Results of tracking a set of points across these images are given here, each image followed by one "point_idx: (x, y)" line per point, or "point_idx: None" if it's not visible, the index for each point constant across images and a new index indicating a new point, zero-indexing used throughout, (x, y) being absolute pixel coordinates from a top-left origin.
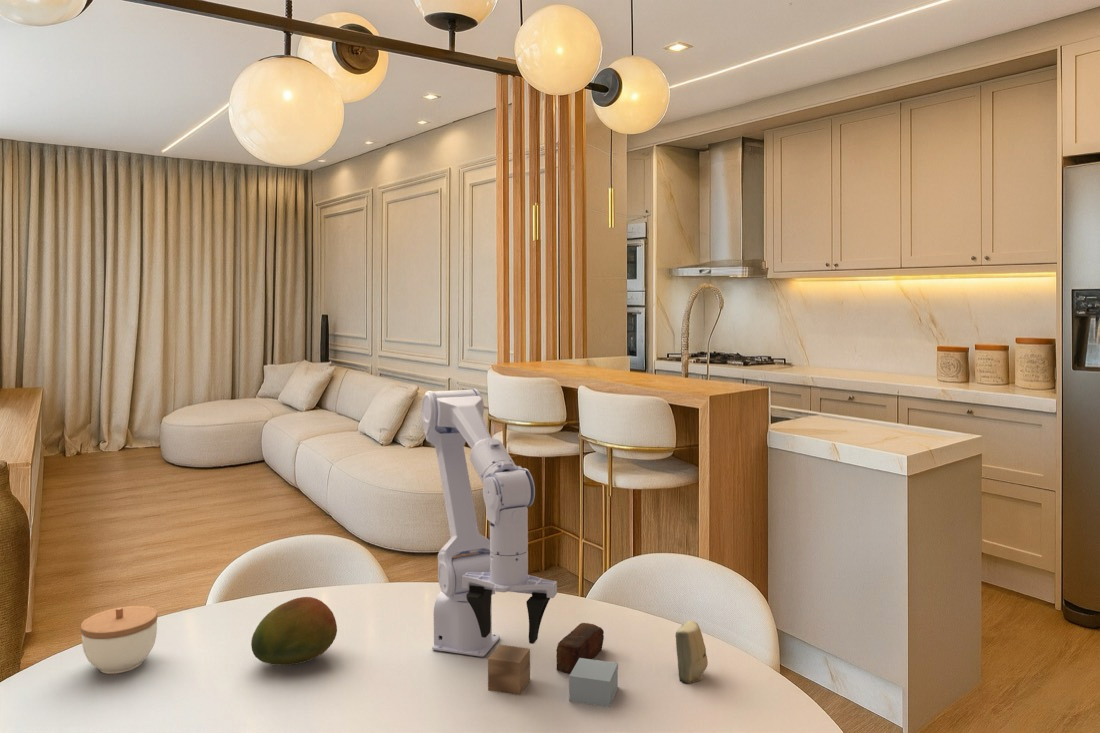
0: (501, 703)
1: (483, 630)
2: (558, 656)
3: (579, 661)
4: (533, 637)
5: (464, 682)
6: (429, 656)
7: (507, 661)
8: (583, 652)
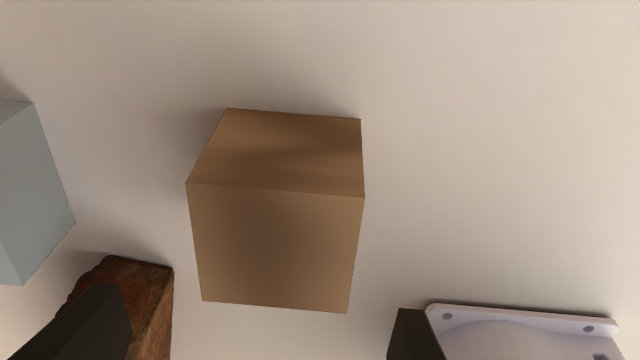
0: (273, 29)
1: (415, 345)
2: (148, 304)
3: (5, 264)
4: (62, 312)
5: (468, 156)
6: (621, 287)
7: (253, 188)
8: None
